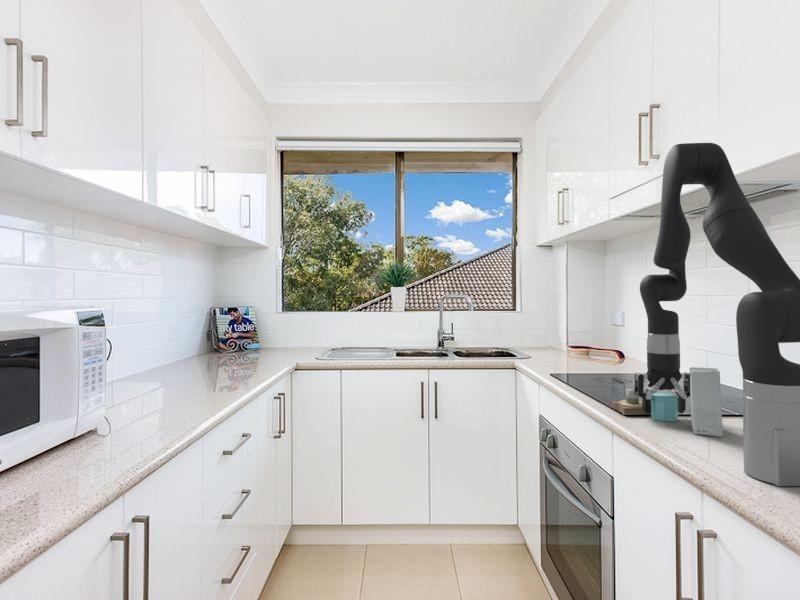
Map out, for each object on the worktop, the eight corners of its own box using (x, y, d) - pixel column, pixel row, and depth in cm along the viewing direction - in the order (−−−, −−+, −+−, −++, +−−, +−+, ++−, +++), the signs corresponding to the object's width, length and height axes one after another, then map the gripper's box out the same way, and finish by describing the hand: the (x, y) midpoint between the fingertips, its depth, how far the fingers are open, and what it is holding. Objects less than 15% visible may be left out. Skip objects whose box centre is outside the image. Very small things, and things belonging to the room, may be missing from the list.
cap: (682, 421, 118) (682, 398, 118) (658, 421, 118) (658, 398, 118) (669, 415, 124) (669, 393, 124) (646, 415, 124) (646, 393, 124)
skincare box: (723, 437, 105) (722, 372, 105) (691, 434, 108) (691, 370, 108) (719, 428, 112) (718, 366, 112) (689, 425, 115) (689, 365, 115)
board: (654, 415, 124) (654, 393, 124) (624, 415, 124) (623, 393, 124) (640, 408, 132) (640, 387, 132) (611, 408, 132) (611, 387, 132)
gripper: (642, 353, 117) (643, 417, 118) (700, 352, 117) (700, 416, 117) (628, 349, 125) (629, 409, 125) (683, 348, 124) (683, 408, 125)
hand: (663, 412), depth 121 cm, fingers open, 8 cm apart
